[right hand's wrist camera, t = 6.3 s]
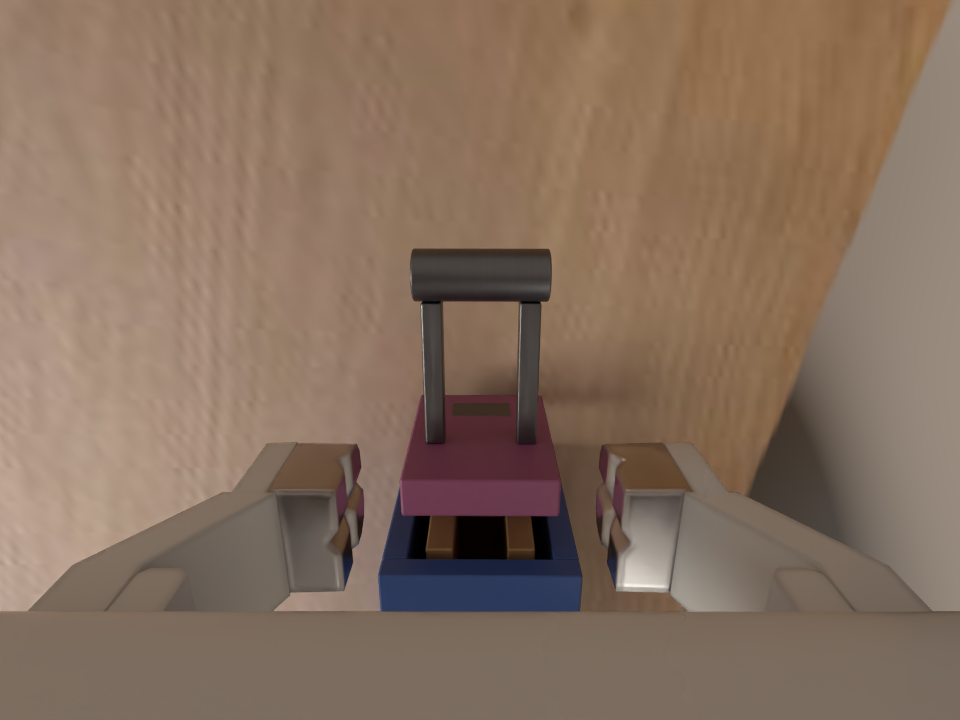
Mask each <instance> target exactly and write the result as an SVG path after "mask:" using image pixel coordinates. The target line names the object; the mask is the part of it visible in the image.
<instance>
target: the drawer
mask: <svg viewBox="0 0 960 720" xmlns="http://www.w3.org/2000/svg"><path fill="white" fill-rule="evenodd" d="M551 279H552V264H551V253H550V250H549V249H413V250H412V253H411V262H410V283H411V293H412V298H413V300H414V301H422V303H421V331H422V358H423V386H424V395H422V396H421V398H420V402H419V406H418V410H417V414H416V418H415V422H414V426H413V430H412V434H411V438H410V442H409V446H408V450H407V454H406V458H405V462H404V466H403V470H402V474H401V478H400V494H401V512H402V515H404V516H431V517H430V524H429V531H428V538H427V545H426V559H512V560H535V546H534V538H533V530H532V522H531V516H558V515H559V511H560V494H561V479H560V474H559V470H558V466H557V461H556V457H555V453H554V448H553V444H552V440H551V435H550V431H549V427H548V422H547V418H546V414H545V409H544V405H543V401H542V397H541V396H538V380H539V354H540V328H541V302H547V301H548V300H549V298H550V293H551ZM443 301H502V302H519V323H518V363H517V396H502V395H445V372H444V327H443Z"/></svg>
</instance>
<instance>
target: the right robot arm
mask: <svg viewBox="0 0 960 720" xmlns="http://www.w3.org/2000/svg"><path fill="white" fill-rule="evenodd" d="M360 469H361V461H360V452H359V448H358V446H357V444H329V443H297V442H290V443H269V444H266V445H265V447H264V448H263V449H262V451H261V452H260V454H259V455H258V456H257V458H256V459H255V461H254V462H253V463H252V465H251V466H250V467H249V469H248V470H247V472H246V473H245V474H244V476H243V477H242V479H241V480H240V481H239V483H238V484H237V485H236V487H235V488H234V490H233V491H232V492H222V493H220V494H218V495H216V496H214V497H212V498H210V499H208V500H206V501H204V502H202V503H200V504H197V505H195V506H193V507H191V508H189V509H187V510H185V511H183V512H181V513H179V514H177V515H175V516H173V517H171V518H169V519H167V520H165V521H162V522H160V523H158V524H156V525H154V526H152V527H150V528H148V529H146V530H144V531H142V532H140V533H138V534H136V535H134V536H132V537H129V538H127V539H125V540H123V541H121V542H119V543H117V544H115V545H113V546H111V547H109V548H107V549H105V550H103V551H101V552H99V553H97V554H94V555H92V556H90V557H88V558H86V559H84V560H82V561H80V562H78V563H76V564H74V565H72V566H71V567H70V568H69V569H68V570H67V571H66V572H65V573H64V574H63V575H62V576H61V577H60V578H59V580H58V581H57V582H56V583H55V584H54V585H53V586H52V587H51V588H50V589H49V590H48V591H47V592H46V593H45V594H44V595H43V596H42V597H41V598H40V599H39V600H38V601H37V602H36V603H35V604H34V605H33V606H32V607H31V608H30V609H29V610H28V611H0V720H960V611H932V610H931V609H930V608H929V607H928V606H927V605H926V604H925V603H924V602H923V601H922V600H921V599H920V598H919V597H918V596H917V595H916V594H915V593H914V591H913V590H912V589H911V588H910V587H909V586H908V585H907V584H906V583H905V582H904V581H903V580H902V579H901V578H900V577H899V576H898V575H897V574H896V573H895V572H894V571H893V570H892V569H891V568H890V567H889V566H888V565H886V564H884V563H882V562H880V561H877V560H875V559H873V558H871V557H869V556H867V555H865V554H863V553H861V552H859V551H857V550H855V549H853V548H851V547H849V546H847V545H845V544H843V543H841V542H838V541H836V540H834V539H832V538H830V537H828V536H826V535H824V534H822V533H820V532H818V531H816V530H814V529H812V528H810V527H808V526H806V525H804V524H802V523H800V522H797V521H795V520H793V519H791V518H789V517H787V516H785V515H783V514H781V513H779V512H777V511H775V510H773V509H771V508H769V507H767V506H765V505H763V504H760V503H758V502H756V501H754V500H752V499H750V498H748V497H746V496H744V495H742V494H740V493H738V492H728V491H727V490H726V488H725V487H724V485H723V484H722V483H721V481H720V480H719V479H718V477H717V476H716V474H715V473H714V472H713V470H712V469H711V468H710V466H709V465H708V463H707V462H706V461H705V459H704V458H703V457H702V455H701V454H700V452H699V451H698V450H697V448H696V447H695V446H694V444H692V443H689V442H682V443H632V444H605V445H602V448H601V452H600V460H599V469H600V472H601V475H602V478H603V480H604V482H603V483H602V485H601V486H600V487H599V488H598V489H597V499H596V517H597V527H598V533H599V537H600V540H601V544H602V545H604V546H605V547H606V548H608V557H607V563H608V567H609V570H610V573H611V576H612V579H613V582H614V586H615V589H616V591H632V592H669V593H670V595H671V596H672V597H673V598H674V599H675V600H676V601H677V602H678V603H679V604H681V605H682V606H683V607H684V608H685V609H686V610H687V611H273V610H274V609H275V608H277V607H278V606H279V605H280V604H281V603H282V602H283V601H284V600H285V599H286V598H288V597H289V596H290V593H291V592H326V591H344V589H345V586H346V583H347V580H348V577H349V573H350V570H351V567H352V564H353V556H352V548H354V547H355V546H356V545H358V544H359V540H360V537H361V533H362V527H363V519H364V496H363V489H362V488H361V487H360V486H359V485H358V483H357V482H356V481H357V478H358V475H359V472H360Z"/></svg>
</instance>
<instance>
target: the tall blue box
mask: <svg viewBox="0 0 960 720" xmlns="http://www.w3.org/2000/svg"><path fill="white" fill-rule="evenodd" d="M553 448H554V447H553ZM554 453H555V452H554ZM430 517H431V516H404V515H402V512H401V494H400V488H399V492H398V496H397V500H396V505H395V509H394V513H393V517H392V521H391V525H390V529H389V533H388V537H387V541H386V545H385V549H384V554H383V558H382V562H381V566H380V570H379V574H378V582H379V595H380V608H381V611H580V603H581V590H582V572H581V568H580V564H579V561H578V560H579V559H578V554H577V550H576V546H575V541H574V537H573V533H572V528H571V524H570V520H569V515H568V511H567V506H566V502H565V498H564V493H563V489H562V485H561V494H560V511H559V515H558V516H531V522H532V530H533V538H534V546H535V560H512V559H426V545H427V538H428V531H429V524H430Z"/></svg>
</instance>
